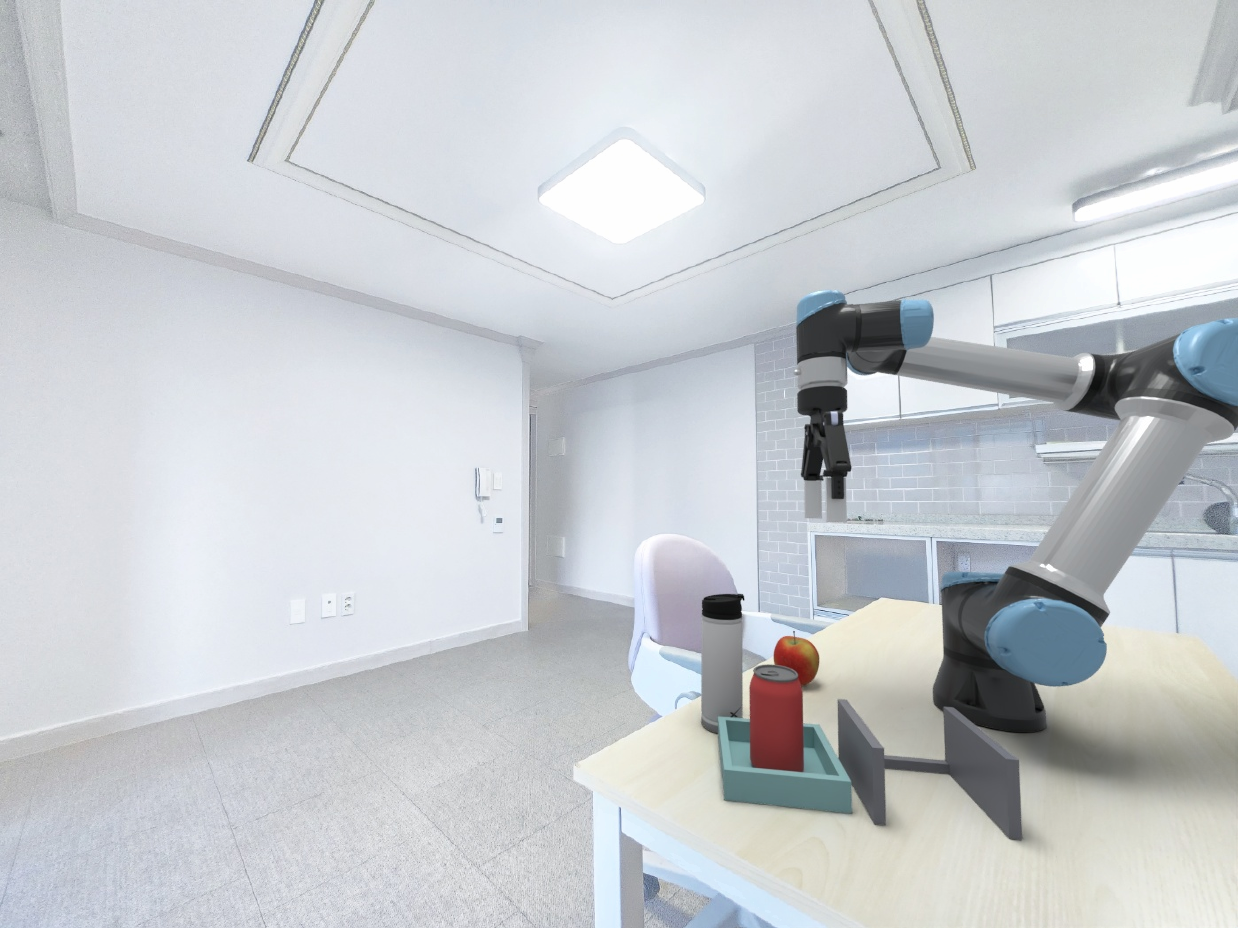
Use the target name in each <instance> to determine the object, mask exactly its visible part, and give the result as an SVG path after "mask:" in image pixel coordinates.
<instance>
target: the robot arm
mask: <svg viewBox="0 0 1238 928" xmlns="http://www.w3.org/2000/svg"><path fill="white" fill-rule="evenodd" d="M934 316H935V314H934V308H933V306H932V304H931V302H930V301H929V300H927V299H923V298H922V299H919V298H918V299H905V298H902V299H900V300H890V301H879V302H868V303H856V304H853V303H849V304H848V301H847V300H846V296H845V294H844V293H843V292H841V291H840V290H830V289H824V290H819V291H814V292H811V293H808V294H806V295H805V296H803V297H802V298H801V299H800V300H799V302H798V303H797V307H796V325H795V332H796V333H795V337H796V338H795V339H796V364H797V368H796V369H794V370H793V375H794V376H797V381H796V382H797V384H796V385H797V388H798V389H799V391H798V392H797V395H796V399H797V402H796V403H797V404H796V407H797V408H796V409H797V413H798V414H800V415H801V416H808V417H810V419H809V420H810V421H809V423H806V424H805V425H804V427H803V429H804V441H803V450H802V451H803V452H802V458H801V459H802V461H801V472H800V477H801V478H802V479H803V482H804V483H803V494H804V496H803V497H804V499H803V501H804V503H803V504H804V519H821V520H822V519H823V507H822V506H823V505H822V504H823V503H822V502H823V495H822V494H823V493H822V490H823V489H822V482H824V484H825V485H824V487H825V489H824V490H825V491H824V494H825V495H824V496H825V502H824V503H825V505H824V506H825V522H826V523H847V521H848V517H847V513H848V512H847V510H848V509H847V476H848V473H849V472H851V471H852V469H853V468H852V464H851V463H852V462H851V457H850V452H849V447H848V441H847V435H846V430H845V426H844V413H845V412H846V411H847V410H848V390H847V389H846V386H847V384H848V369H849V371H850V372H852V373H854V374H855V375H857V376H870V375H875V374H877V373H878V374H879V373H880V374H885V375H886V374H887V375H891V376H892V375H893V376H898V377H905V378H911V379H914V380H915V379H916V380H921V381H928V382H933V383H939V384H943V385H950V386H957V387H962V388H969V389H974V390H980V391H984V392H990V393H991V392H992V393H997V394H1003V395H1007V396H1015V397H1019V398H1025V399H1032V400H1037V401H1043V402H1049V403H1053V404H1054V407H1056V409H1057V410H1059V411H1064V412H1070V413H1075V414H1080V415H1087V416H1092V417H1096V418H1103V419H1108V420H1114V421H1119V423H1118V424H1117V426H1116V427H1115V429H1114V431H1113V432H1112V433H1111V435H1110V437H1109V438H1108V440H1107V441H1106V443H1105V445H1103V447H1102V449H1101V450H1100V452H1099V453H1098V454H1097V456H1096V458H1095V459H1094V461H1093V462H1092V464H1091V465H1090V467H1089V468H1088V470H1087V471H1086V473H1085V474H1084V476H1083V477H1082V479H1081V480H1080V482H1079V483H1078V485H1077V487H1076V488H1075V489H1074V491H1073V492H1072V494H1071V495H1070V497H1069V498H1068V500H1067V502H1066V503H1065V505H1064V506H1063V507H1062V510H1061V511H1060V512H1059V514H1058V515H1057V517H1056V518H1055V520H1054V521H1053V523H1052V524H1051V526H1050V528H1049V529H1048V530H1047V532H1046V534H1045V535H1044V537H1043V538H1042V540H1041V541H1040V543H1039V544H1038V545H1037V547H1036V549H1035V550H1034V551H1033V553H1032V555H1031V557H1029V559H1028V560H1026V561H1024V562H1019V563H1013V564H1009V566H1008V568H1006V570H1005V572H1004V573H998V572H997V573H996V572H995V573H994V572H978V571H977V572H973V571H946V572H944V574H942V576H941V587H940V589H939V591H940V594H941V619H942V621H941V622H942V624H941V625H942V645H943V647H942V649H943V650H942V651H943V657H942V660H941V664H940V666H939V669H938V671H937V674H936V678H935V679H934V683H933V685H932V702H933V704H934V705H935V706H936V707H937V708H938V709H940V710H941V711H943V712H944V710H943V707H953V708H955V709H956V710H957V711H958V712H960V713H961V714H962V715H963V716H965V717H966V718H967V719H968V720H970V721H971V722H972V723H973V724H975V725H976V726H977V725H978V726H981V727H985V728H989V729H994V730H1000V731H1004V732H1005V731H1006V732H1014V733H1033V732H1034V733H1035V732H1040V731H1043V730H1044V729H1046V728H1047V726H1048V725H1047V724H1048V723H1047V722H1048V720H1047V711H1046V707H1045V705H1044V702H1043V700H1042V698H1041V695H1040V693H1039V691H1038V688H1037V686H1036V685H1040V686H1046V687H1053V688H1054V687H1055V688H1056V687H1066V686H1067V687H1069V686H1073V685H1077V684H1080V683H1083V682H1084V681H1086V680H1088V679H1090V678H1091V677H1093V676H1095V674H1096V673H1097V672H1098V671H1099V670H1100V669H1101V667H1102V666H1103V664H1104V662H1105V659H1106V656H1107V653H1108V651H1107V650H1108V649H1107V647H1108V646H1107V642H1105V633H1104V631H1103V629H1102V627H1103V625H1104V623H1105V622H1106V620H1107V619H1108V618H1109V616H1110V613H1111V611H1110V609H1109V607H1108V605H1107V602H1106V600H1105V598H1104V595H1105V594H1106V593H1107V590H1108V589H1109V587H1110V586H1111V584H1112V583H1113V582H1114V580H1115V579H1116V577H1117V576H1118V574H1119V573H1120V571H1121V570H1122V568H1123V567H1124V565H1125V564H1126V562H1127V561H1128V559H1129V558H1130V556H1132V553H1133V552H1134V551H1135V549H1136V548H1137V546H1138V545H1139V543H1140V542H1141V541H1142V539H1143V538H1144V536H1145V535H1146V533H1147V532H1148V530H1149V528H1150V527H1151V526H1152V524H1153V522H1154V521H1155V519H1156V518H1157V517H1158V515H1160V513H1161V511H1162V509H1163V508H1164V507H1165V505H1166V504H1167V503H1168V501H1169V499H1170V498H1171V496H1172V495H1173V494H1174V492H1175V491H1176V489H1177V487H1178V486H1179V484H1180V483H1181V481H1182V480H1183V478H1184V477H1185V476H1186V474H1187V472H1189V469H1190V468H1191V466H1192V465H1193V464H1194V463H1195V461H1196V459H1197V458H1198V457H1199V455H1200V454H1201V452H1202V450H1203V449H1204V448H1205V447H1206V445H1207V444H1210V443H1211V444H1212V443H1214V442H1218V441H1219V442H1220V441H1223V440H1227V439H1229V438H1231V437H1232V436H1233V434H1234V433H1235V431H1236V430H1237V428H1238V317H1230V318H1228V317H1227V318H1222V319H1218V320H1217V319H1216V320H1213V321H1209V322H1207V323H1201V324H1197V325H1193V326H1191V327H1189V328H1187V329H1185V330H1183V331H1182V332H1180V333H1177V334H1176V335H1175V334H1174V335H1173V336H1169V337H1167V338H1165V339H1162V340H1159V341H1157V342H1154V343H1151V344H1149V345H1146V346H1142V348H1139V349H1136V350H1132V351H1129V352H1124V353H1123V352H1122V353H1115V354H1114V353H1113V354H1098V353H1097V354H1096V353H1095V354H1094V353H1089V352H1081V353H1078V354H1077V355H1075V356H1073V357H1072V356H1071V357H1070V356H1064V355H1057V354H1052V353H1051V354H1050V353H1043V352H1038V351H1037V352H1036V351H1030V350H1023V349H1017V348H1009V347H1002V346H996V345H988V344H983V343H977V342H976V343H975V342H968V341H961V340H954V339H950V338H949V339H948V338H941V337H935V336H932V334H933V331H934V322H935V317H934ZM823 463H824V466H825V469H823V471H822V467H823ZM821 472H822V474H821Z"/></svg>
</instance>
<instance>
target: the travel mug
mask: <svg viewBox="0 0 1238 928" xmlns="http://www.w3.org/2000/svg"><path fill="white" fill-rule="evenodd" d="M742 601H745V595H744V594H743V593H719V594H712V595H707V596H705V597H703V599H702V600H701V608H702V609H701V641H700V642H701V644H700V645H701V647H700V649H701V650H700V651H701V652H700V653H701V656H700V657H701V669H700V670H701V675H700V677H701V680H700V683H701V684H700V685H701V689H700V692H701V693H700V695H701V697H700V698H701V700H700V702H701V705H700V706H701V707H700V710H701V711H700V712H701V715H700V718H701V720H700V722H701V725H702V727H703V728H705V729H706V730H707V731H709V732H712V733H715V734H718V716H719V717H732V718H743V716H744V715H743V713H744V712H743V710H744V707H743V703H744V702H743V698H744V697H743V691H744V690H743V689H744V688H743V678H744V677H743V612H742V611H743V608H742V607H743V606H742Z"/></svg>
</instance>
